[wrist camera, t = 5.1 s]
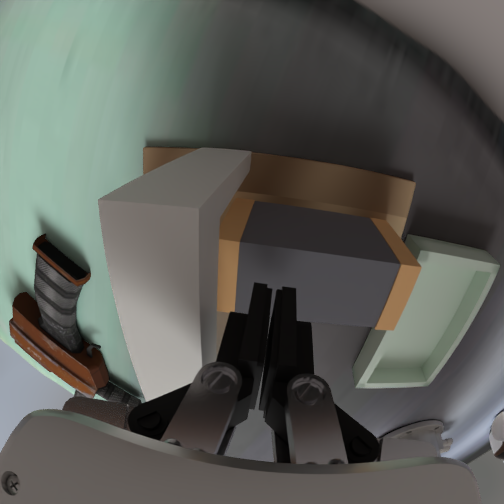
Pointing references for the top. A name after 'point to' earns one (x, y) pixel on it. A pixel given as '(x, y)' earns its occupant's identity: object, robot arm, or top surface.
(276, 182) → the holder
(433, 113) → the top surface
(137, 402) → the tool
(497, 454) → the spread jar
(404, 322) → the tray
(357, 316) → the block
